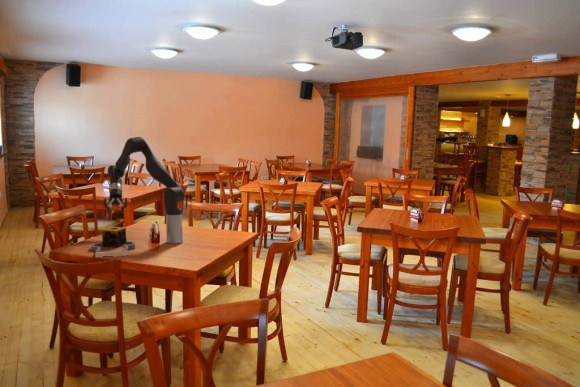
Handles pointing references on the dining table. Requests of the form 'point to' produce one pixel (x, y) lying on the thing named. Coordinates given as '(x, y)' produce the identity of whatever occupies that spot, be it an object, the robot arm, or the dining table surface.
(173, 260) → the dining table surface
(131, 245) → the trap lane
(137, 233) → the dining table surface
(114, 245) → the candle
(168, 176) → the robot arm
